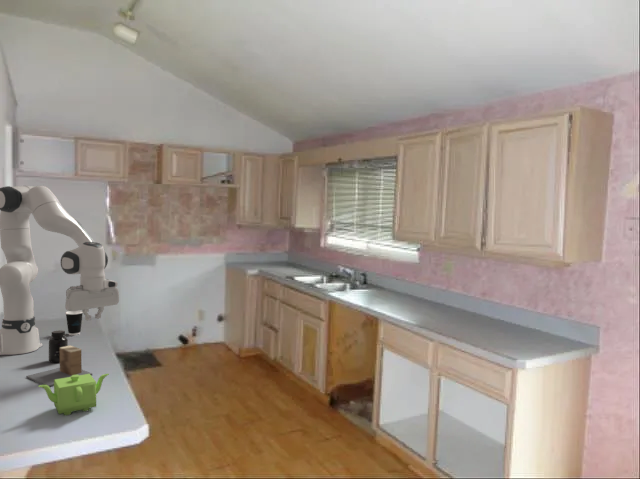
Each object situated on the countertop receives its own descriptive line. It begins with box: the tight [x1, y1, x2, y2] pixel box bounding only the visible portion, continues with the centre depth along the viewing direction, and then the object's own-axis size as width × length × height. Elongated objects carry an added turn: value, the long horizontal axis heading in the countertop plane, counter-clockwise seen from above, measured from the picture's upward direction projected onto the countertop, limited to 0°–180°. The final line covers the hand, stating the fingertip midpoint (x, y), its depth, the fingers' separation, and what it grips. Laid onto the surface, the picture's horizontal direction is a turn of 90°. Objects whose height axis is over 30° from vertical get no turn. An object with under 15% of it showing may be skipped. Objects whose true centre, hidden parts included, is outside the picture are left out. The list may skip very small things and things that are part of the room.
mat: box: [26, 367, 93, 388], centre depth 179 cm, size 16×16×1 cm
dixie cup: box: [65, 310, 84, 336], centre depth 239 cm, size 8×8×11 cm
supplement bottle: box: [48, 329, 69, 364], centre depth 197 cm, size 7×7×12 cm
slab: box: [59, 345, 83, 375], centre depth 182 cm, size 8×4×9 cm, turn 55°
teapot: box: [37, 373, 110, 416], centre depth 150 cm, size 15×13×11 cm
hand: (93, 319), depth 189 cm, fingers open, 3 cm apart
